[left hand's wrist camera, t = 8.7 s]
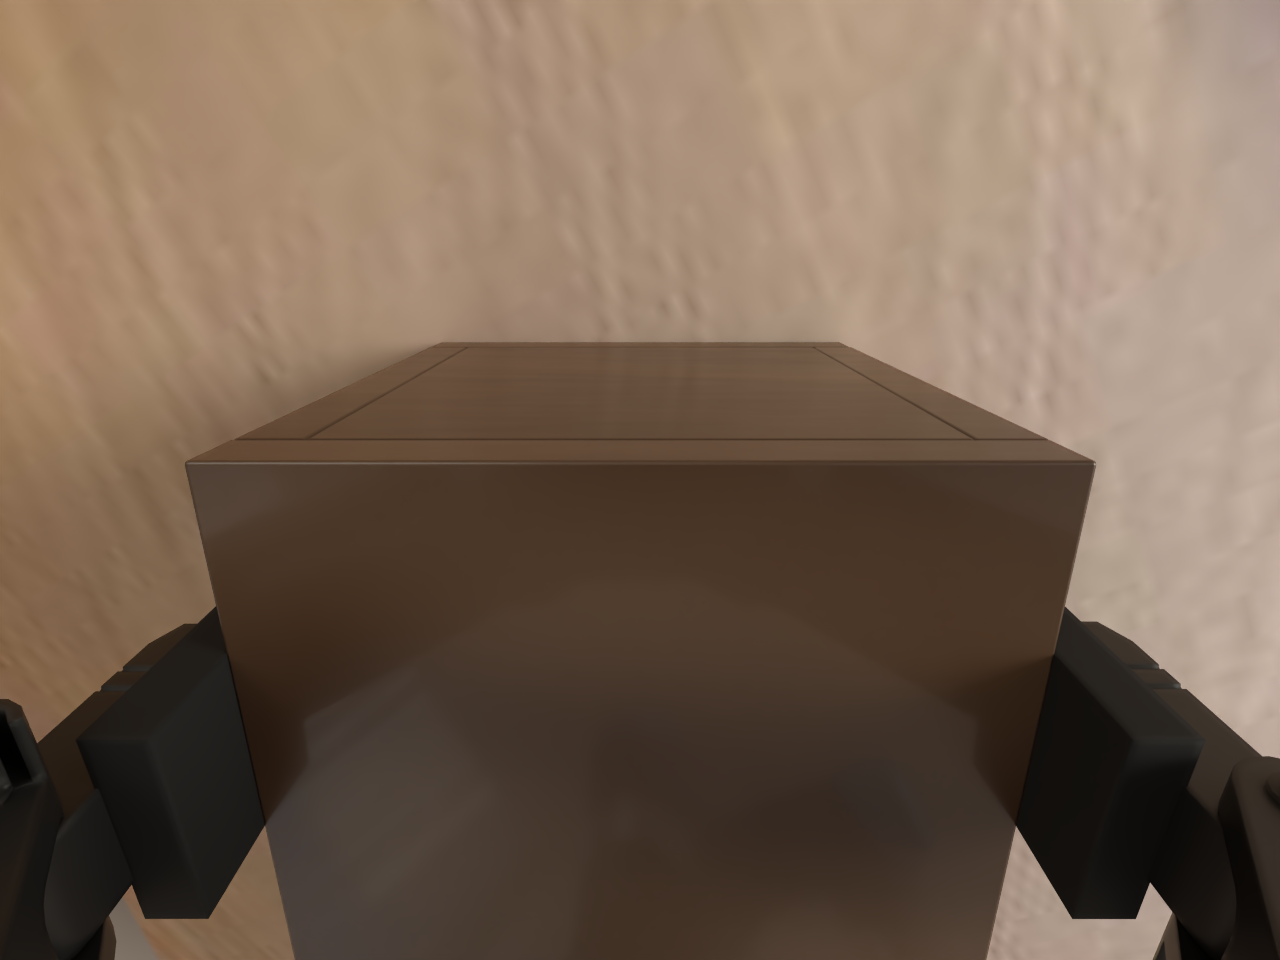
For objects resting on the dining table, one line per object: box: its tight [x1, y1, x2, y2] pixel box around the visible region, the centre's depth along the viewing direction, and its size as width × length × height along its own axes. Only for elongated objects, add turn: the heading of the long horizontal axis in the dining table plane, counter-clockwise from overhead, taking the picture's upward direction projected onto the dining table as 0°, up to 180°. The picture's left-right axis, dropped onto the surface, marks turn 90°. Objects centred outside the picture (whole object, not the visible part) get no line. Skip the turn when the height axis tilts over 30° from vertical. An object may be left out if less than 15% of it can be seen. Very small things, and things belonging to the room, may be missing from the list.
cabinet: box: [185, 343, 1096, 960], centre depth 16 cm, size 21×10×10 cm, turn 0°
